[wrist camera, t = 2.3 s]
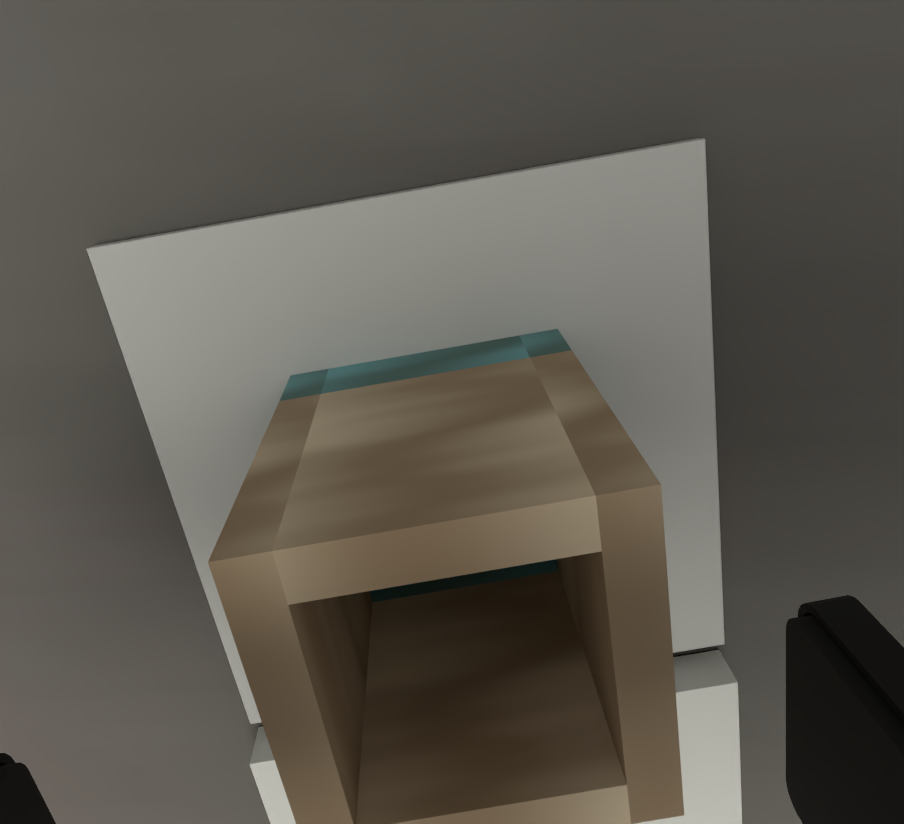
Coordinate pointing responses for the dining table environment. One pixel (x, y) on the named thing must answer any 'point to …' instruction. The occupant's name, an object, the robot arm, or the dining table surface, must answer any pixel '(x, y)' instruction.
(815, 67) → the dining table surface
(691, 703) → the pin board
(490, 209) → the mat
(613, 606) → the sleeve
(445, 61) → the dining table surface
